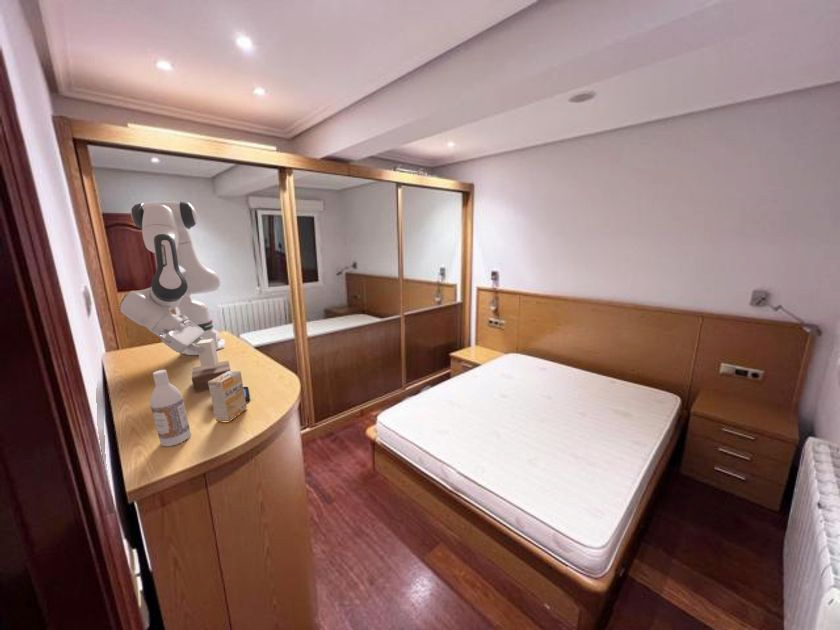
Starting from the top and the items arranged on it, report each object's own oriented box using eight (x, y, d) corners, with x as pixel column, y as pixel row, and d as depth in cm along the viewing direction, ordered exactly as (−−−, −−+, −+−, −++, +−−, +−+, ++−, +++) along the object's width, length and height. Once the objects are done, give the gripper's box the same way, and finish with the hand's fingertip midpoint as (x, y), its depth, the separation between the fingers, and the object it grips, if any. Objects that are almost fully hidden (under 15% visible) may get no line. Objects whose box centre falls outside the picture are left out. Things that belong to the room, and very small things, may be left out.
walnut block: (196, 382, 133) (192, 367, 132) (231, 374, 139) (228, 360, 138) (195, 393, 123) (191, 378, 122) (232, 384, 129) (229, 369, 128)
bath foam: (154, 446, 92) (135, 377, 87) (175, 431, 99) (159, 366, 94) (176, 448, 91) (159, 377, 86) (197, 433, 97) (181, 366, 93)
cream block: (205, 362, 131) (200, 340, 129) (218, 361, 132) (213, 338, 130) (201, 367, 127) (196, 343, 124) (215, 365, 128) (210, 342, 125)
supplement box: (229, 423, 102) (221, 382, 99) (215, 422, 103) (206, 381, 100) (248, 409, 110) (241, 370, 106) (235, 408, 110) (227, 370, 107)
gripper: (162, 327, 113) (202, 351, 118) (185, 314, 132) (218, 335, 137) (150, 342, 113) (190, 365, 118) (175, 326, 132) (208, 347, 137)
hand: (205, 349), depth 128 cm, fingers closed on cream block, 4 cm apart
